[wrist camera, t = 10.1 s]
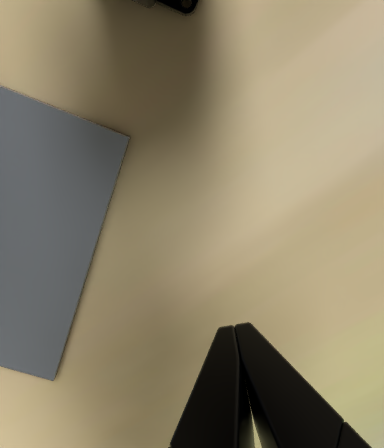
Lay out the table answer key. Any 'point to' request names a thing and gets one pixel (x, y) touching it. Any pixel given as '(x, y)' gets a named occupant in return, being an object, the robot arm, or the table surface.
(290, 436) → the robot arm
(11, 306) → the card
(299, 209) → the table surface
